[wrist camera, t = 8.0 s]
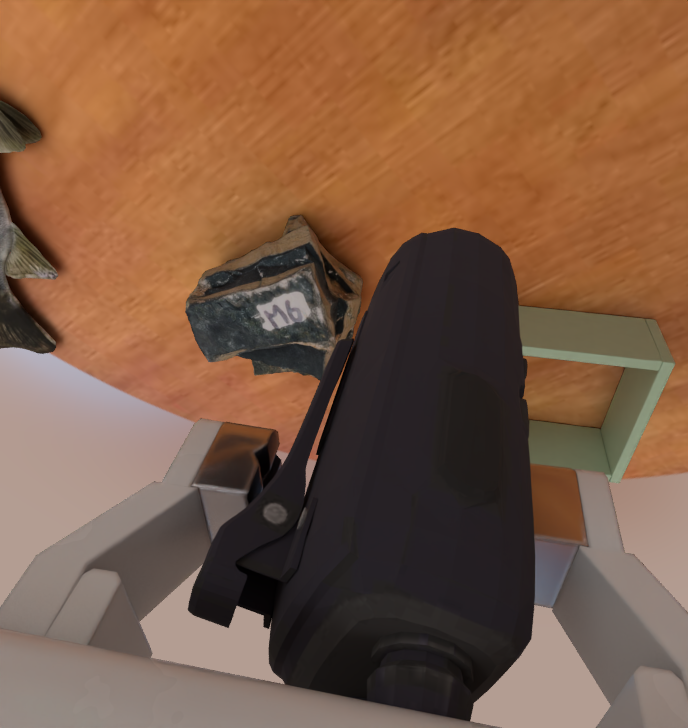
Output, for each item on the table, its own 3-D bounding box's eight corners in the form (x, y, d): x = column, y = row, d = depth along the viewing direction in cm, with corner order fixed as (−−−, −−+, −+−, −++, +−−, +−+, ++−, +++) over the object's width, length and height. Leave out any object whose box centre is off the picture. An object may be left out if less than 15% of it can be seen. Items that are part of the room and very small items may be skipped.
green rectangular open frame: (656, 319, 32) (676, 363, 28) (607, 436, 37) (619, 484, 34) (488, 302, 33) (490, 342, 30) (465, 418, 38) (464, 462, 35)
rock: (260, 359, 38) (232, 418, 34) (203, 231, 33) (162, 280, 29) (386, 344, 36) (374, 405, 31) (346, 202, 31) (325, 251, 26)
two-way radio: (451, 397, 17) (353, 1369, 6) (312, 345, 17) (-70, 1225, 6) (544, 239, 14) (770, 1916, 2) (370, 173, 14) (-326, 1565, 2)
